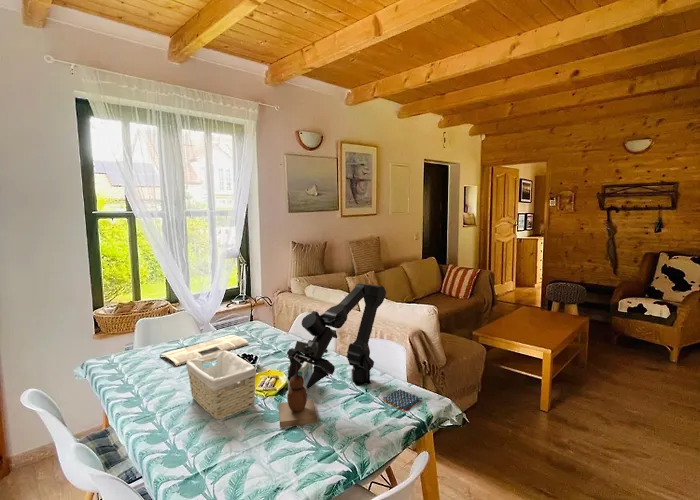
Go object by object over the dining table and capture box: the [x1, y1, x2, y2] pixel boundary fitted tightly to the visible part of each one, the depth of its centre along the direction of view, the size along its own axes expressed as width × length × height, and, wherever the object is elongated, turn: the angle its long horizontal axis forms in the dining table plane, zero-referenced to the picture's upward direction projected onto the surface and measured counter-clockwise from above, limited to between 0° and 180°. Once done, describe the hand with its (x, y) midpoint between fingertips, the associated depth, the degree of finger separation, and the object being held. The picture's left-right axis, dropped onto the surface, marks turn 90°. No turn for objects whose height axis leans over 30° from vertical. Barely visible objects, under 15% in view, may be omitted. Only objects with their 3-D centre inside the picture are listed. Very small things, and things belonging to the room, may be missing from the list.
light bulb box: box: [287, 359, 314, 393], centre depth 150 cm, size 11×7×11 cm, turn 169°
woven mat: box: [382, 388, 422, 412], centre depth 139 cm, size 10×11×2 cm
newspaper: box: [159, 334, 249, 367], centre depth 192 cm, size 37×19×3 cm, turn 137°
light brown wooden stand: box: [277, 398, 319, 429], centre depth 130 cm, size 12×12×2 cm
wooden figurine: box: [286, 363, 308, 412], centre depth 129 cm, size 7×6×15 cm
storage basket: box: [185, 350, 257, 420], centre depth 139 cm, size 24×16×15 cm
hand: (297, 384), depth 129 cm, fingers open, 9 cm apart
